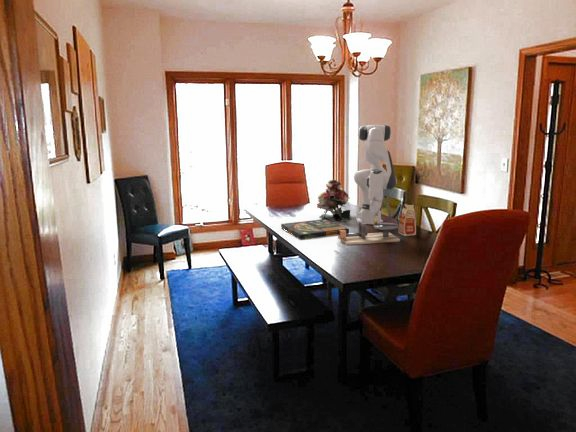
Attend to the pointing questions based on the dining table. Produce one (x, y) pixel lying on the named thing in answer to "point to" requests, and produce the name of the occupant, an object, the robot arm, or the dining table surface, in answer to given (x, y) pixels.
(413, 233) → the milk carton
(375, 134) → the robot arm
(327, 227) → the pizza box
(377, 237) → the base board
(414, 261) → the dining table surface
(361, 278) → the dining table surface
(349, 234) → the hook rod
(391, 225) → the handwheel
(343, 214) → the rose bouquet
